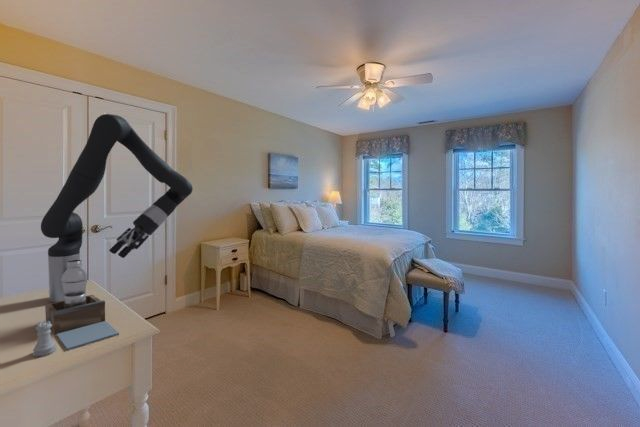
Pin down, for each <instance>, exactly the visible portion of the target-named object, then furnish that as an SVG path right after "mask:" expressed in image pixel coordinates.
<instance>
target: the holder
mask: <svg viewBox="0 0 640 427" xmlns="http://www.w3.org/2000/svg"><path fill="white" fill-rule="evenodd" d="M86 303H87V304H84V305H80V306H75V307H71V308H66V309H64V301H59V302H50V303H45V305H44V306H45V307H44V308H45V321H46V323H47V321H50V323H51V324H52V326H51V328H50V330H51V332H52V333H53V335H54V336H57V334H58V333H62V332H66V331H69V330H73V329H77V328H81V327H84V326H88V325H92V324H96V323H99V322H103V321H106V301H105V300H104V299H103V300H100V298H98V297H97V296H95V295H94V294H89V295H86Z"/></svg>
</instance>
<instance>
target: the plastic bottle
mask: <svg viewBox="0 0 640 427" xmlns="http://www.w3.org/2000/svg"><path fill="white" fill-rule="evenodd" d="M82 263H83V262H82V259H80V260H70V261H67V266H66V267H67V268H68V269H67V270H66V271H65V273H64V274H63V275H62V278H61V281H62V286H63V290H64V309H66V308H71V307H75V306H80V305H84V304H87V303H86V296H87V295H86V294H87V293H86V291H87V283H88V274H87V272H86V271H85V270H84V269H83V268H82V267H83V264H82Z"/></svg>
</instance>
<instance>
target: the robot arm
mask: <svg viewBox="0 0 640 427" xmlns="http://www.w3.org/2000/svg"><path fill="white" fill-rule="evenodd" d="M117 142H118V143H120V145H122V146H124V147H125V148H126V149H128V150H129V152H131V154H133V155H134V157H135V158H136V160H138V162H139V163H140V164H141V166H142V167H143V168H144V170H146V171H147V172H148V173H149V174H150V176H152V177H153V178H154V179H155V180H157V181H158V182H160V183H162V184H165V185H167V187H169V189H168V190H167V191H166V192H165V193H164V194H163V195H161V196H160V197H159V198H158V199H156V200H155V201H154V202H153V203H152V204H151V205H150V206H149V207H147V208H146V209H145V210H144V211H143V212H141V214H140V215H139V216H137V218H135V219H134V220H133V222H132V224H133V225H134V227H133V228H131V227H128V228H127V229H126V230H125V231H123V233H121V234H120V235H119V236H118V237H117V238H116V243H114V245H113V246H112V247H111V248H109V252H110V253H111V254H113V255H114V254H115V255H116V254H117V253H118V254H117V255H118V256H119V257H120V258H122V259H125V257H127V256H128V255H129V253H131V251H134V250H139V248H140V247H141V245H143V244H144V243H145V242H146V240H147V239H148V238H149V237H150V236H152V235H153V233H155V231H156V230H158V229H159V228H160V227H161V225H162V224H163V223H164V222H165V221H166V219H168V217H169V216H170V215H171V214H172V213H173V212H174V211H175V210H176V208H177V207H178V206H179V205H180V204H182V202H183V201H184V200H185V199H187V198H188V197H189V196H190V195H191V194H192V192H193V191H194V190H193V185H192V183H191V182H190V181H189V180H188V179H187V178H186V177H185V176H183V175H182V174H180V173H179V172H177V171H176V170H174V169H173V168H172V167H171V166H170V165H169V164H168V163H167V162H165V161H164V160H163V158H162V157H160V156H159V155H158V154H157V153H156V152H155V151H154V150H153V149H151V147H149V145H148V144H147V143H146V142H145V141H143V139H142V138H141V137H140V136H139V134H138V133H137V132H136V131H135V129H134V128H133V127H132V126H131V125H130V123H129V122H128V121H127V119H125V118H124V117H122V116H120V115H117V114H112V113H105V114H101V115H99V116H98V117H97V118H96V119H95V120H94V122H93V124H92V127H91V131H90V133H89V136H88V139H87V140H86V144H85V146H84V147H83V149H82V151H81V152H80V154H79V156H78V158H77V159H76V160H77V161H76V162H75V164H74V165H73V166H72V169H71V170H70V172H69V175H68V177H67V179H66V181H65V183H64V185H63V187H62V189H60V192H59V193H58V195H57V198H55V200H54V202H52V204H51V206H50V208H49V209H48V210H47V212H46V213H45V215H44V216H43V218H42V219H41V223H40V230H41V233H42V235H43V236H45V237H46V238H49V239H56V238H57V239H58V240H57V241H56V242H55V243H54V244H53V245H51V246H50V247H49V248H48V249H47V259H48V260H47V261H48V262H47V263H48V288H49V289H48V293H49V297H48V298H49V300H48V301H49V302H50V303H54V302H59V301H64V290H63V286H62V281H61V278H62V275H63V274H64V273H65V271H66V270H67V269H68V268H67V267H66V266H67V261H70V260H81V251H80V249H81V248H82V245H83V233H84V232H83V230H84V228H83V226H84V225H83V220H82V218H81V216H80V215H79V214H78V213H76V212H74V211H75V210H76V208H78V207H79V205H81V204H82V203H83V202H84V201H85V200H87V199H88V198H90V197H91V196H92V195H93V194H94V193H95V192H96V191H97V190H98V188H99V186H100V184H101V182H102V180H103V178H104V175H105V173H106V168H107V160H108V157H109V154H110V152H111V151H112V149H113V147H114V146H115V145H116V143H117Z"/></svg>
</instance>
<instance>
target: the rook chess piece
mask: <svg viewBox="0 0 640 427" xmlns="http://www.w3.org/2000/svg"><path fill="white" fill-rule="evenodd" d="M51 326H52V324H51V323H50V321H47V323H46V320H44V321H43V323H42V322H41V321H40V322H38V323H37V324H36V327H35V330H36V331H37V332H36V335H37V340H36V344H35V347H34V348H33V349H32V351H33V354H32V355H33V356H35V357H38V358H39V357H45V356H48V355H51V354H52V353H54V352H55V351H56V350H57V349H56V348H57V347H56V343H55V342H54V340H53V339H52V336H51V332H52V330H51V329H50V328H51Z"/></svg>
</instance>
